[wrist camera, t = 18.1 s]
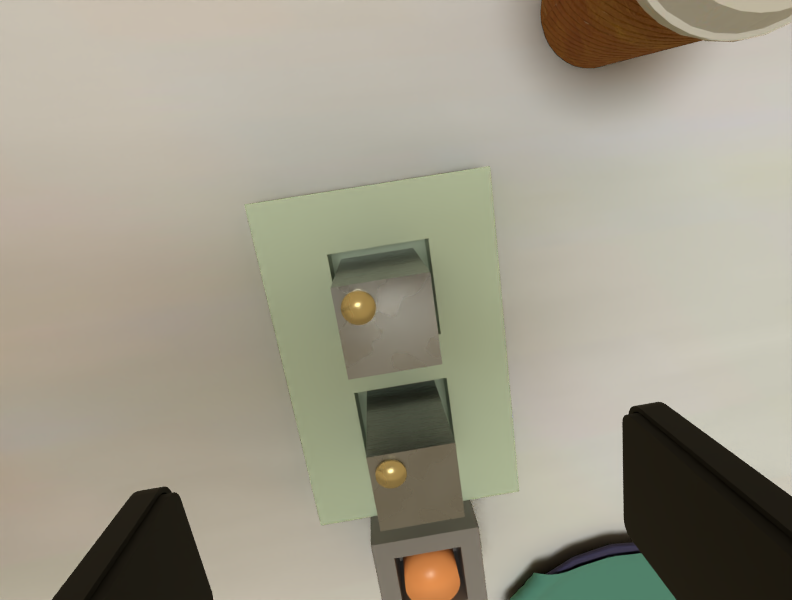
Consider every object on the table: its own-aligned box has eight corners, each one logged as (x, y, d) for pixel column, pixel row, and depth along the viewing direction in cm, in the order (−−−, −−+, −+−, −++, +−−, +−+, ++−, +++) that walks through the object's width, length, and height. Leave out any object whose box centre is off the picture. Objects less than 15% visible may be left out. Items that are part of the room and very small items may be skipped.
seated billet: (440, 434, 31) (465, 519, 23) (377, 445, 31) (380, 534, 23) (432, 376, 30) (456, 444, 22) (366, 387, 30) (366, 460, 22)
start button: (454, 563, 32) (462, 601, 29) (405, 571, 32) (409, 610, 29) (448, 522, 31) (456, 557, 28) (398, 531, 31) (401, 567, 28)
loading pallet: (515, 543, 35) (538, 601, 30) (341, 573, 34) (337, 637, 29) (479, 167, 27) (503, 164, 22) (255, 202, 27) (230, 206, 22)
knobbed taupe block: (422, 316, 29) (443, 365, 21) (353, 327, 29) (348, 381, 21) (412, 247, 27) (430, 272, 20) (341, 259, 27) (329, 289, 19)
